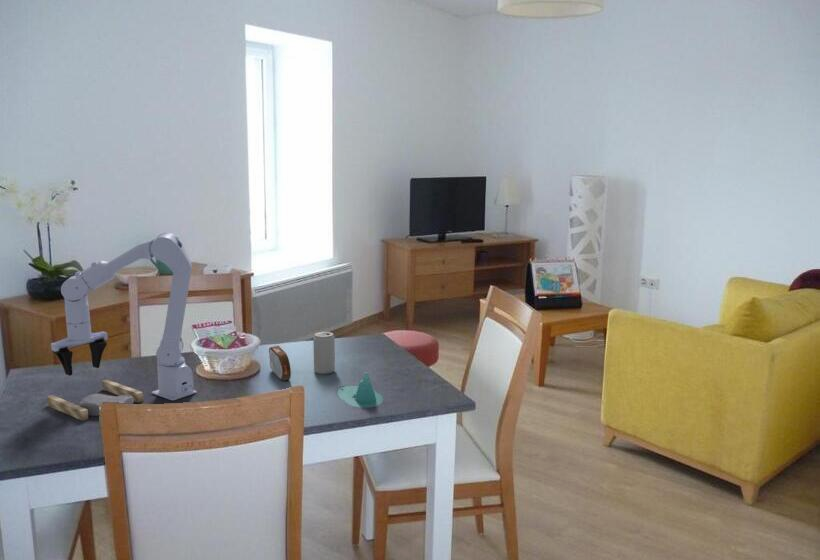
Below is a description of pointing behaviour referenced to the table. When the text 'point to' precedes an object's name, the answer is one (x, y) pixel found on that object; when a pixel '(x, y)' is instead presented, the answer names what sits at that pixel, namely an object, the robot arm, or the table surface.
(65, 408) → the pair of wooden posts
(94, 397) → the stone block
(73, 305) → the robot arm
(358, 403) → the diorama
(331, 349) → the beverage can
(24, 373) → the table surface
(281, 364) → the bread slice
